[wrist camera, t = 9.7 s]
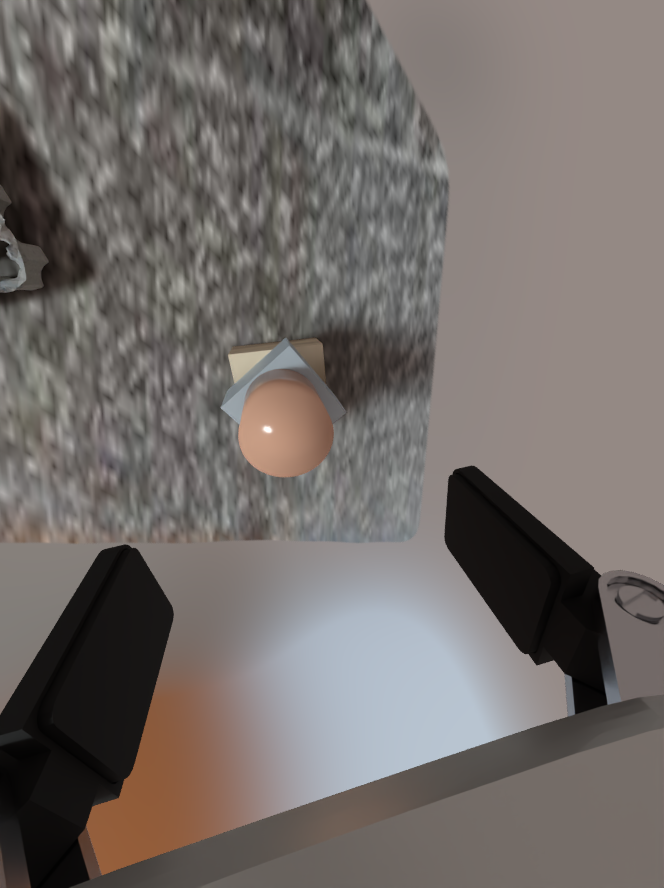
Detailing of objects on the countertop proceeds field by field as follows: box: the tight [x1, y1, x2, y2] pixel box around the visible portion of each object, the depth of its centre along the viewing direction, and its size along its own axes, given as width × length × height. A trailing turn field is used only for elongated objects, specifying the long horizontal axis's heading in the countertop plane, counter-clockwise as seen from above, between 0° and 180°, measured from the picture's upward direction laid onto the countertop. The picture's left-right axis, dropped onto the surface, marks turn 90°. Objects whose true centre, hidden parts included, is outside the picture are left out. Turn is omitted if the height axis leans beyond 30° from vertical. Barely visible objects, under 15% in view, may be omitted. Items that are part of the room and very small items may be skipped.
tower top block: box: [221, 338, 347, 425], centre depth 23 cm, size 6×6×4 cm
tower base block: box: [228, 338, 326, 384], centre depth 26 cm, size 7×7×4 cm
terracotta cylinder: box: [238, 369, 334, 477], centre depth 19 cm, size 5×5×5 cm
